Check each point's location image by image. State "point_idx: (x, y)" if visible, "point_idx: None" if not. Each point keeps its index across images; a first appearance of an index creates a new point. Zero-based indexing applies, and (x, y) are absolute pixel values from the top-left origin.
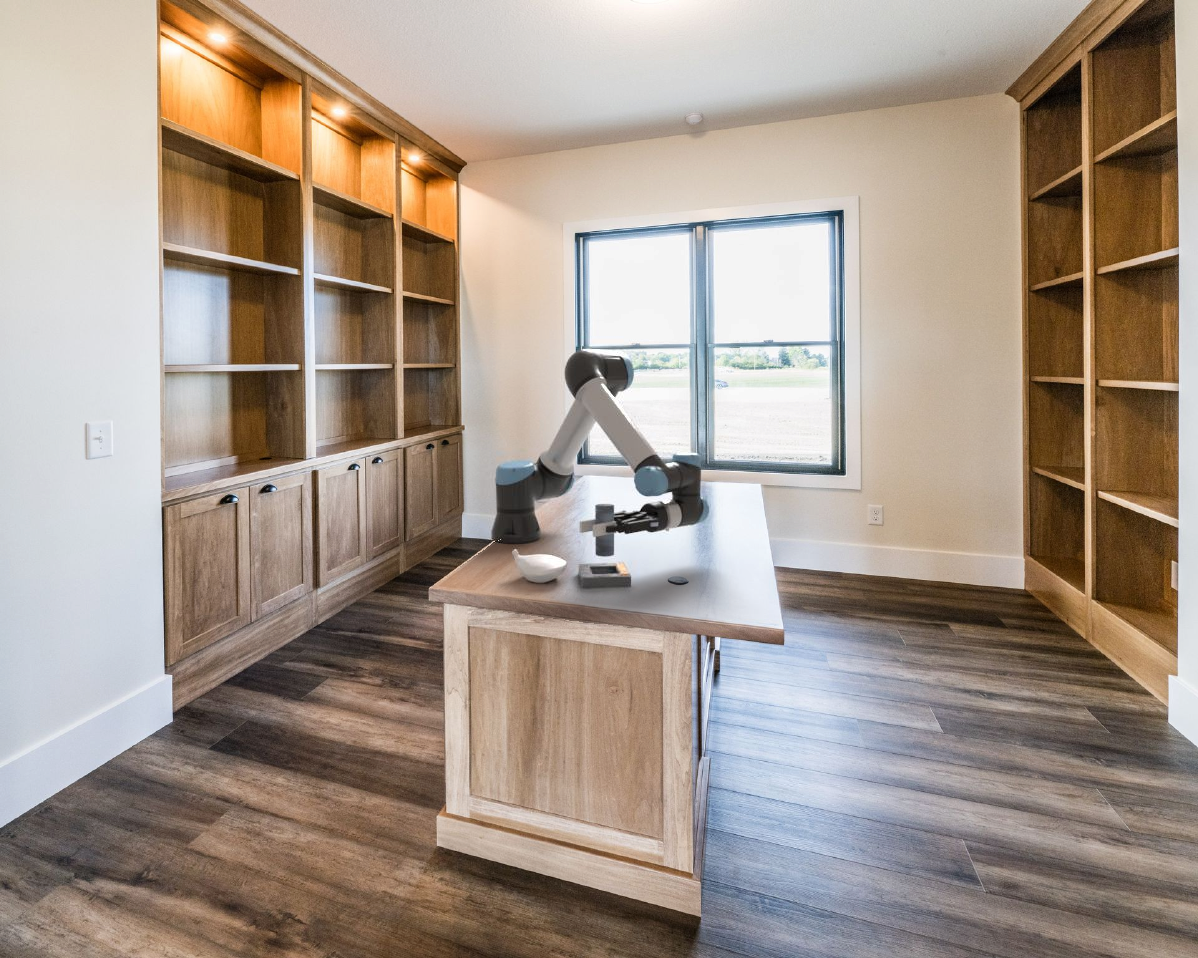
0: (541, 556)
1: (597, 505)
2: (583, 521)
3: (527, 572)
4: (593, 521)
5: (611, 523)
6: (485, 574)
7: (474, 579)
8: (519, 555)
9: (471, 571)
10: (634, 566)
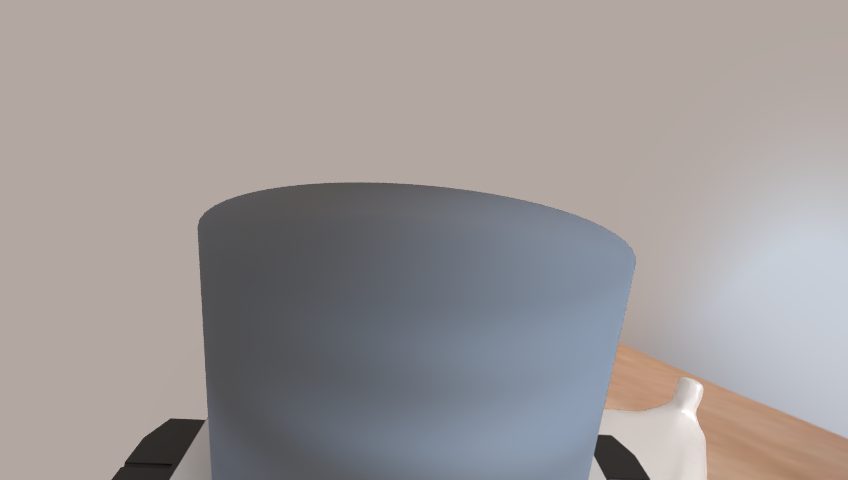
0: None
1: (492, 201)
2: None
3: None
4: None
5: (183, 472)
6: (714, 431)
7: (654, 393)
8: (676, 410)
9: (760, 418)
10: None
